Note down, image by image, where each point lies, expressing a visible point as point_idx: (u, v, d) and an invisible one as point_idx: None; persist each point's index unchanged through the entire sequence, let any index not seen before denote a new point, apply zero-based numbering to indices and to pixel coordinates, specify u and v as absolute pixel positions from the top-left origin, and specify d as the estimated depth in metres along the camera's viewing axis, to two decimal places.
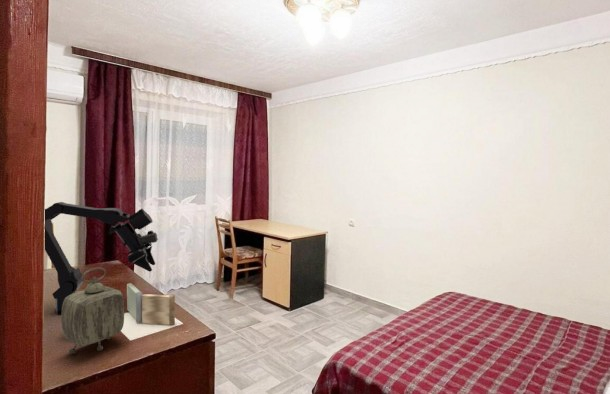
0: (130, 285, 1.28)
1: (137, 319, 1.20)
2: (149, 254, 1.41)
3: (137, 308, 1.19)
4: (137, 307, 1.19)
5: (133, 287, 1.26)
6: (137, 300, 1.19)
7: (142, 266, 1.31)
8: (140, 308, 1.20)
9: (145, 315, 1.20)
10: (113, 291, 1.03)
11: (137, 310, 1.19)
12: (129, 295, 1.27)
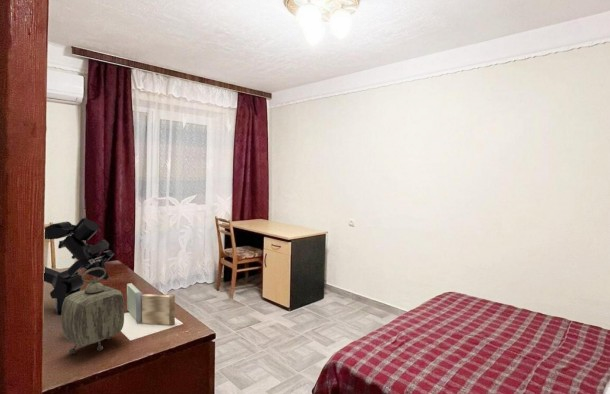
0: (130, 285, 1.28)
1: (137, 319, 1.20)
2: None
3: (137, 308, 1.19)
4: (137, 307, 1.19)
5: (133, 287, 1.26)
6: (137, 300, 1.19)
7: (96, 275, 1.26)
8: (140, 308, 1.20)
9: (145, 315, 1.20)
10: (113, 291, 1.03)
11: (137, 310, 1.19)
12: (129, 295, 1.27)
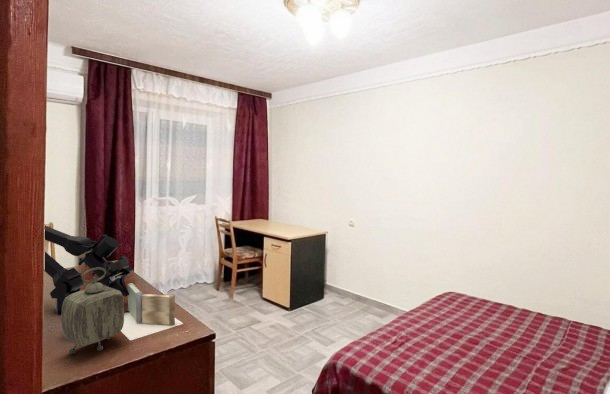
0: (131, 285, 1.28)
1: (137, 319, 1.20)
2: (121, 284, 1.28)
3: (137, 308, 1.19)
4: (137, 307, 1.19)
5: (133, 287, 1.26)
6: (137, 300, 1.19)
7: None
8: (140, 308, 1.20)
9: (145, 315, 1.20)
10: (113, 291, 1.03)
11: (137, 310, 1.19)
12: (130, 295, 1.28)
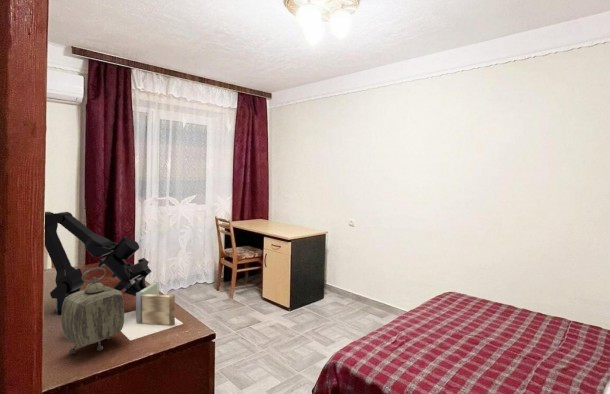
0: (153, 283, 1.31)
1: (136, 318, 1.20)
2: (142, 286, 1.29)
3: (136, 308, 1.20)
4: (136, 307, 1.20)
5: (150, 286, 1.28)
6: (136, 300, 1.19)
7: None
8: (138, 308, 1.19)
9: (145, 315, 1.20)
10: (113, 291, 1.03)
11: (136, 310, 1.20)
12: None
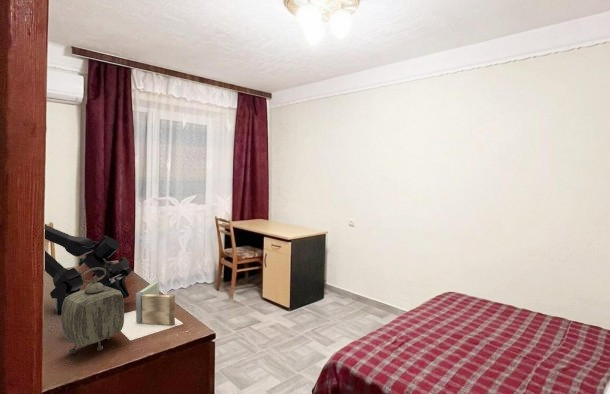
0: (153, 283, 1.31)
1: (136, 318, 1.20)
2: (121, 285, 1.28)
3: (136, 308, 1.20)
4: (136, 307, 1.20)
5: (150, 286, 1.28)
6: (136, 300, 1.19)
7: None
8: (138, 308, 1.19)
9: (145, 315, 1.20)
10: (113, 291, 1.03)
11: (136, 310, 1.20)
12: None
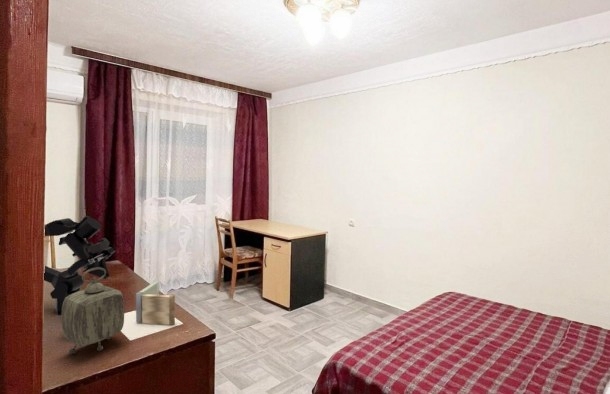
0: (153, 283, 1.31)
1: (136, 318, 1.20)
2: (102, 266, 1.29)
3: (136, 308, 1.20)
4: (136, 307, 1.20)
5: (150, 286, 1.28)
6: (136, 300, 1.19)
7: (95, 274, 1.27)
8: (138, 308, 1.19)
9: (145, 315, 1.20)
10: (113, 291, 1.03)
11: (136, 310, 1.20)
12: None
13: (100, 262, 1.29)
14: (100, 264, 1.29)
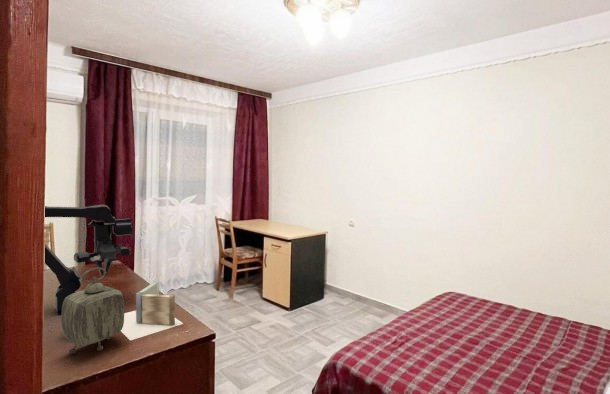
0: (153, 283, 1.31)
1: (136, 318, 1.20)
2: (106, 263, 1.35)
3: (136, 308, 1.20)
4: (136, 307, 1.20)
5: (150, 286, 1.28)
6: (136, 300, 1.19)
7: None
8: (138, 308, 1.19)
9: (145, 315, 1.20)
10: (113, 291, 1.03)
11: (136, 310, 1.20)
12: None
13: (107, 260, 1.35)
14: (106, 261, 1.35)
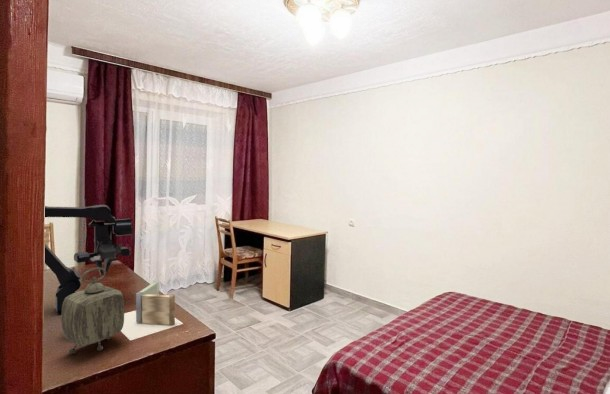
0: (153, 283, 1.31)
1: (136, 318, 1.20)
2: (106, 263, 1.35)
3: (136, 308, 1.20)
4: (136, 307, 1.20)
5: (150, 286, 1.28)
6: (136, 300, 1.19)
7: None
8: (138, 308, 1.19)
9: (145, 315, 1.20)
10: (113, 291, 1.03)
11: (136, 310, 1.20)
12: None
13: (107, 260, 1.35)
14: (106, 261, 1.35)
